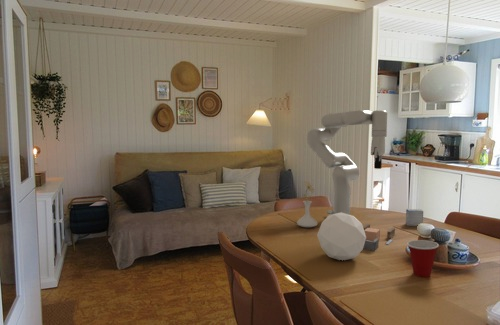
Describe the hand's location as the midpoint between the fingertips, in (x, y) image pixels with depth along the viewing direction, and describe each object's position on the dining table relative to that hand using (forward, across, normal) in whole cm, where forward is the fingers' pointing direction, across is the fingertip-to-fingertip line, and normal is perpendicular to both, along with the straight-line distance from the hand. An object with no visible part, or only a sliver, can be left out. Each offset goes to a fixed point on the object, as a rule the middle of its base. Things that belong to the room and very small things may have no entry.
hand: (377, 168), depth 199 cm
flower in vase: (+32, +19, -32) cm, 49 cm away
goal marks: (+32, +22, +5) cm, 40 cm away
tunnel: (+32, +13, +5) cm, 35 cm away
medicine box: (+32, -16, +16) cm, 40 cm away
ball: (+32, +55, +2) cm, 64 cm away
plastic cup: (+32, +54, +33) cm, 71 cm away
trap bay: (+32, +36, +5) cm, 48 cm away
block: (+32, +23, +5) cm, 40 cm away
